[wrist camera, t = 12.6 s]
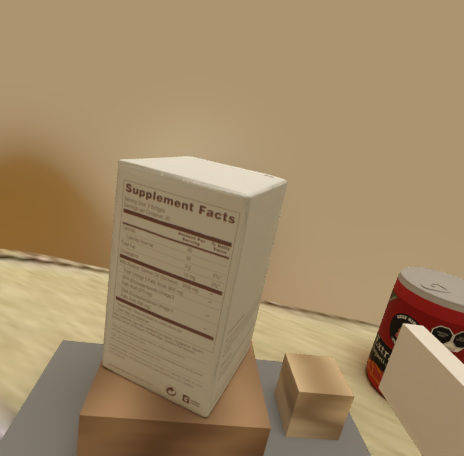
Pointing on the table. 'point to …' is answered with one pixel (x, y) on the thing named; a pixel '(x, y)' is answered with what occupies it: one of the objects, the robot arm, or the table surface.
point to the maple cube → (312, 397)
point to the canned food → (420, 315)
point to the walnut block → (173, 419)
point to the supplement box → (187, 273)
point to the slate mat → (77, 388)
